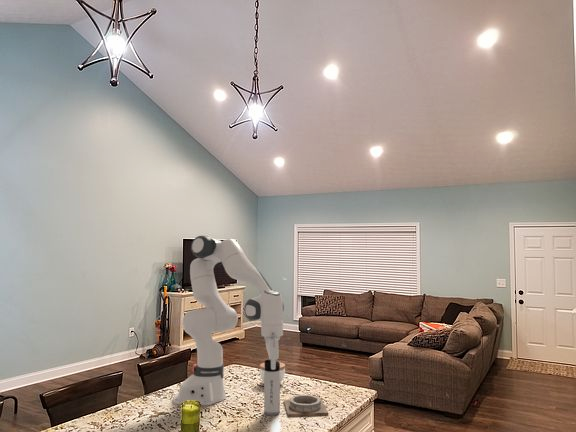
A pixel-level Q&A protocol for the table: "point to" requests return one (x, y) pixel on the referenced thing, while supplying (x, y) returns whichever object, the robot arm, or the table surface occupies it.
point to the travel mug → (271, 389)
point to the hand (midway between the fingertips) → (272, 366)
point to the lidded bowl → (282, 371)
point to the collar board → (305, 406)
